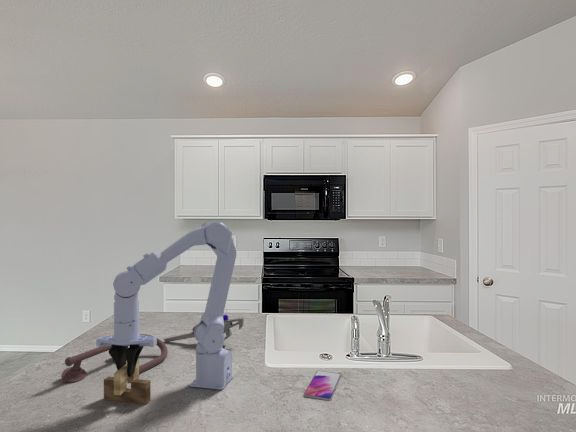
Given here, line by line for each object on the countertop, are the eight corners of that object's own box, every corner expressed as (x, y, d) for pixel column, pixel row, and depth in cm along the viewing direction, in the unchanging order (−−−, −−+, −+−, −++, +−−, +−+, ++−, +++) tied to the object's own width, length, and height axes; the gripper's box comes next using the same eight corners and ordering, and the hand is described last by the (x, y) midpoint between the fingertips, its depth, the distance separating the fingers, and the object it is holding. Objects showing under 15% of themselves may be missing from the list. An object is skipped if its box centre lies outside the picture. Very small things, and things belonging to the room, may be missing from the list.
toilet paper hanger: (100, 389, 88) (60, 352, 95) (92, 412, 89) (54, 374, 96) (178, 351, 114) (143, 324, 121) (172, 369, 115) (137, 341, 122)
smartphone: (341, 373, 99) (331, 399, 84) (341, 376, 99) (331, 402, 84) (317, 369, 101) (302, 394, 87) (317, 372, 101) (302, 397, 87)
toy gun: (245, 342, 122) (241, 313, 123) (163, 350, 127) (159, 322, 128) (247, 340, 124) (243, 312, 125) (165, 348, 129) (162, 321, 129)
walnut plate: (150, 400, 85) (150, 380, 86) (146, 404, 84) (146, 383, 84) (108, 396, 88) (108, 376, 88) (103, 399, 86) (103, 379, 86)
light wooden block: (133, 378, 91) (133, 358, 91) (138, 378, 90) (138, 358, 91) (113, 395, 82) (113, 373, 82) (120, 395, 82) (120, 373, 82)
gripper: (161, 315, 90) (162, 368, 90) (107, 315, 91) (107, 367, 90) (149, 323, 83) (149, 381, 83) (90, 323, 84) (90, 380, 83)
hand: (126, 375), depth 86 cm, fingers closed on light wooden block, 2 cm apart
